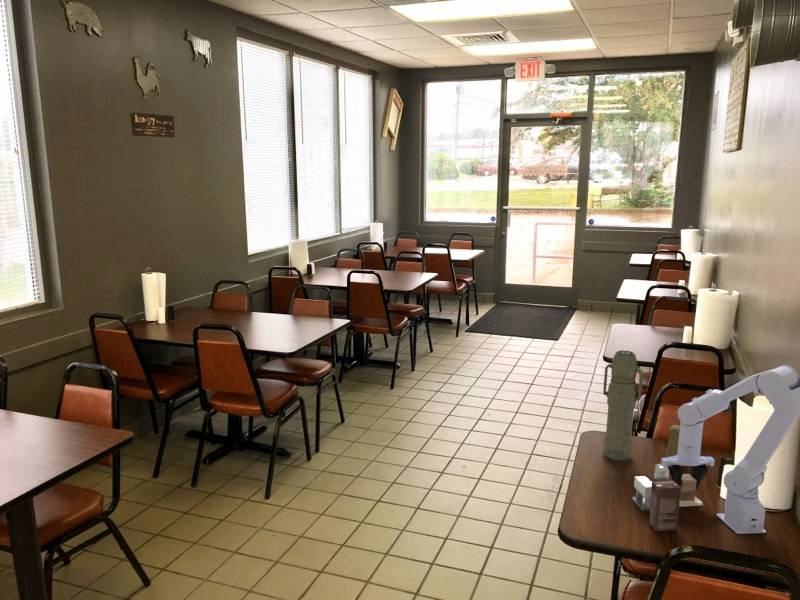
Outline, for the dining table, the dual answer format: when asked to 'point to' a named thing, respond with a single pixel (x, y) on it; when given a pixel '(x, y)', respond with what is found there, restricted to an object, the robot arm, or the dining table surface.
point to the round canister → (661, 473)
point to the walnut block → (687, 487)
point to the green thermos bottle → (621, 405)
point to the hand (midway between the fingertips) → (685, 489)
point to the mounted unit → (642, 492)
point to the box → (664, 505)
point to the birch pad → (691, 503)
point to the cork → (673, 441)
